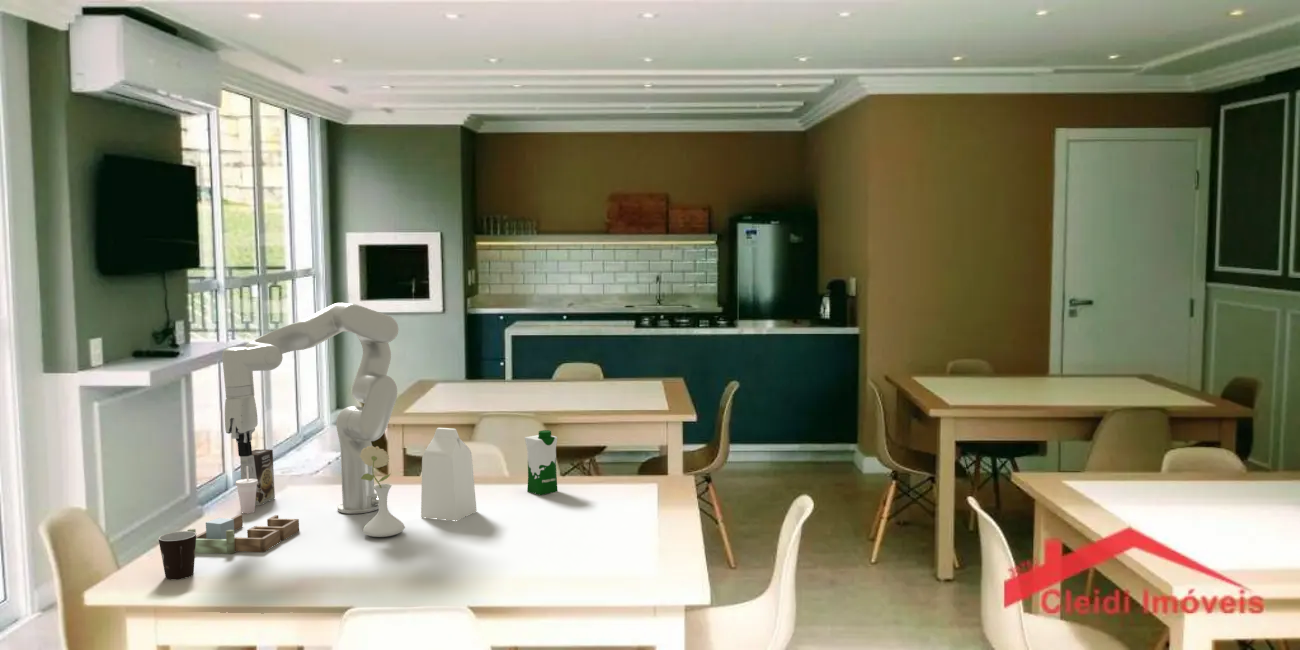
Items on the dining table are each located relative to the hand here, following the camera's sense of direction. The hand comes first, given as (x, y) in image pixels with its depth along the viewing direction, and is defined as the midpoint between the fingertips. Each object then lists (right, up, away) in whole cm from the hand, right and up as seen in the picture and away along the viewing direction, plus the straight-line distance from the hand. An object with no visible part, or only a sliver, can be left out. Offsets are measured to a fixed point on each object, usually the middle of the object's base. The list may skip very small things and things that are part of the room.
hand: (245, 455), depth 301 cm
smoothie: (-9, -20, +25) cm, 34 cm away
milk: (+54, -20, +18) cm, 60 cm away
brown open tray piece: (+3, -23, -5) cm, 23 cm away
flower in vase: (+39, -22, -2) cm, 45 cm away
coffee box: (-10, -19, +38) cm, 44 cm away
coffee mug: (-3, -26, -37) cm, 45 cm away
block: (-3, -23, -10) cm, 26 cm away
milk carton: (+79, -17, +45) cm, 92 cm away
